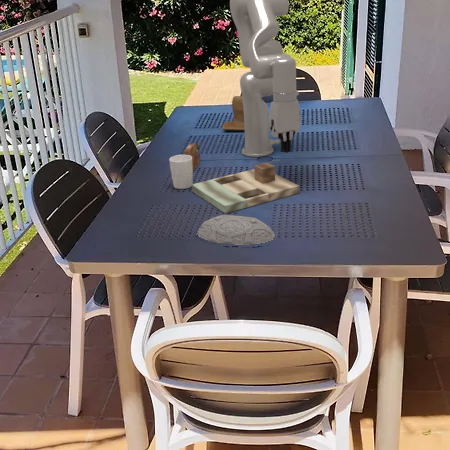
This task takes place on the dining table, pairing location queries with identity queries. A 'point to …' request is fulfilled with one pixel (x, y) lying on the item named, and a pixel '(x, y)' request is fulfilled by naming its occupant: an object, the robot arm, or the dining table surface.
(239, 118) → the brown l-shaped block
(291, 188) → the board
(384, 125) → the dining table surface
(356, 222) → the dining table surface
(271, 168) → the walnut block
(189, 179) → the white cup
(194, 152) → the tin
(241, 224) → the embossed grey dome
